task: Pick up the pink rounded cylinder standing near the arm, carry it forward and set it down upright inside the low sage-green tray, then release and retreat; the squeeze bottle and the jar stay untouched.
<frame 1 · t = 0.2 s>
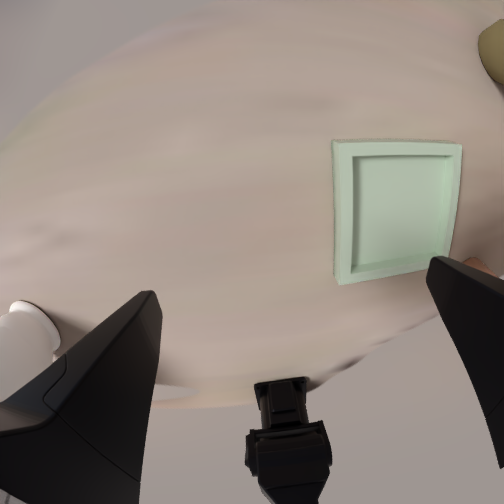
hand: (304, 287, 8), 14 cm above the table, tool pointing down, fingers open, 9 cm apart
pink rounded cylinder: (466, 277, 27), on the table
tray: (396, 206, 23), on the table
squeeze bottle: (492, 56, 15), on the table
jar: (35, 324, 28), on the table
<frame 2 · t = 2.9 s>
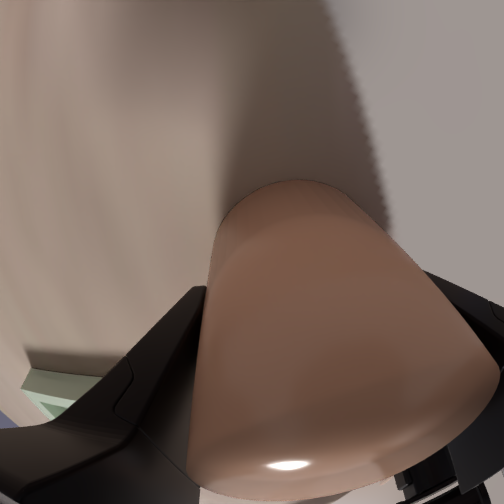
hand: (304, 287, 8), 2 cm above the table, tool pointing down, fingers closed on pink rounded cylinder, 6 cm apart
pink rounded cylinder: (295, 260, 10), on the table, touching gripper
tray: (143, 429, 16), on the table
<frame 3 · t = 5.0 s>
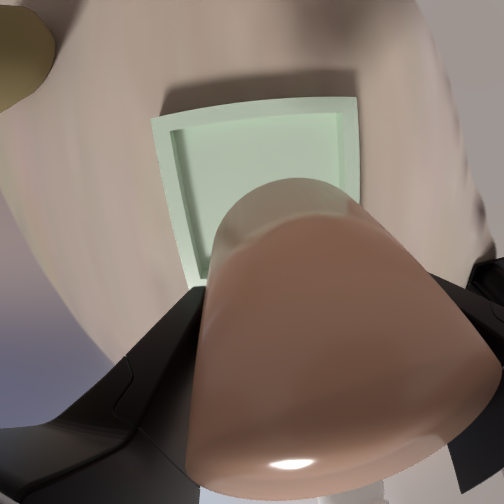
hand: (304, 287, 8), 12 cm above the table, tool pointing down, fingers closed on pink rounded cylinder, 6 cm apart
pink rounded cylinder: (295, 258, 10), point 10 cm above the table, touching gripper
tray: (263, 191, 19), on the table
squeeze bottle: (30, 62, 13), on the table
jar: (338, 440, 39), on the table
when the fingers open (4 cm above the table, at t = 6.9 s): pink rounded cylinder drops 2 cm, resting on tray.
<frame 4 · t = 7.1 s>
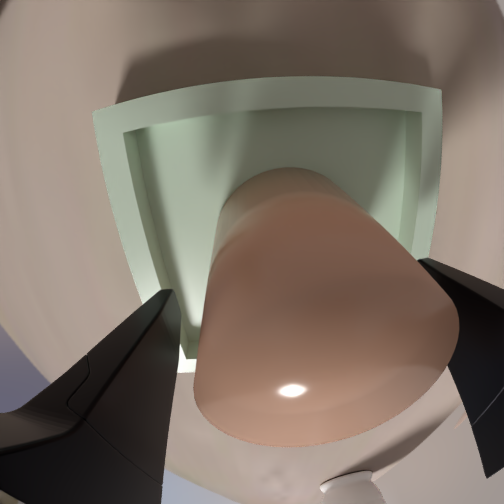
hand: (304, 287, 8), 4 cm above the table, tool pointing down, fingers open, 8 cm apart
pink rounded cylinder: (288, 238, 11), point 1 cm above the table, touching tray
tray: (284, 233, 12), on the table
jar: (345, 478, 32), on the table
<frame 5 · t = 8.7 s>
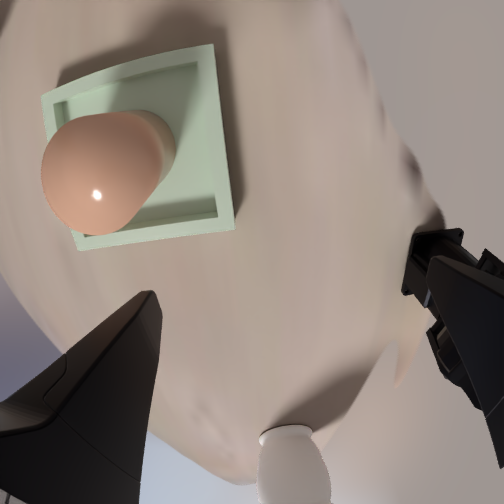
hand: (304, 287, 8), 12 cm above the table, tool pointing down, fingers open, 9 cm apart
pink rounded cylinder: (135, 151, 17), point 1 cm above the table, touching tray
tray: (137, 150, 17), on the table
jar: (285, 433, 38), on the table
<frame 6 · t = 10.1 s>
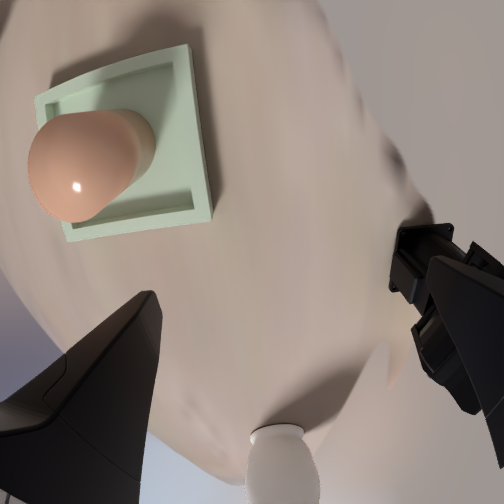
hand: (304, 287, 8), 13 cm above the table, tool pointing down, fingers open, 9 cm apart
pink rounded cylinder: (118, 147, 18), point 1 cm above the table, touching tray
tray: (121, 147, 18), on the table
jar: (276, 433, 38), on the table
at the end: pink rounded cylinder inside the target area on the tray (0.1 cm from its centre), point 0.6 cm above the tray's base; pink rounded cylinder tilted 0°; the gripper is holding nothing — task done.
